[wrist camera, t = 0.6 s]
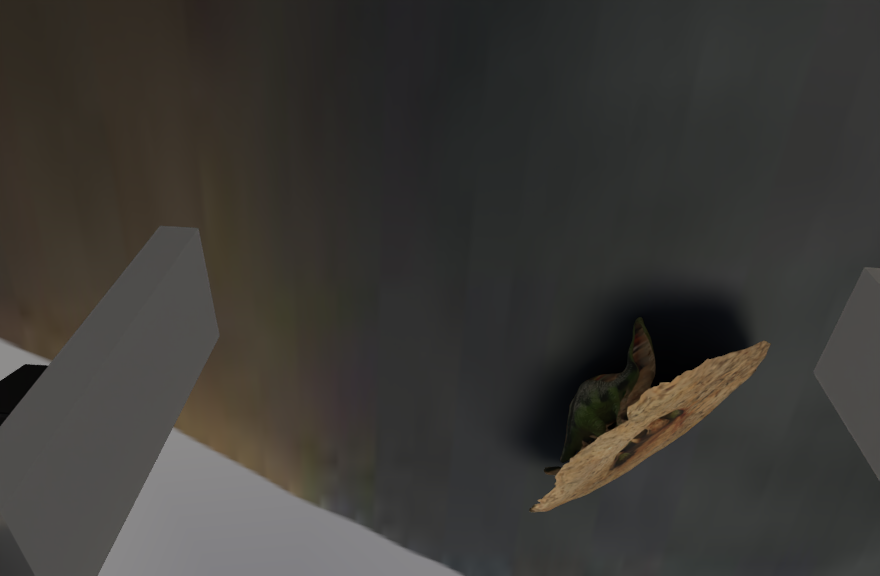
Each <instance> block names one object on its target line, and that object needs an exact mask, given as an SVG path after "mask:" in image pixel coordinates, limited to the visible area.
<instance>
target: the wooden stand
mask: <svg viewBox="0 0 880 576" xmlns="http://www.w3.org/2000/svg"><path fill="white" fill-rule="evenodd" d="M770 344H771V343H770ZM770 344H768V342H766V341H762V342H760V343H758V344H756V345H754V346H751V347H749V348H747V349H744V350H740V351H737V352H731V353H729V354H726V355H724V356H722V357H721V356H719V357H716V358H713V359H707V360H706V361H705V362H703V363H702V364H701V365H700V366H698V367H697V368H695V369H693V370H688V371H685V372H684V373H683V374H682V375H681V376H677V377H676V378H675V379H674V380H673V381H672V382H671V383H670V382H661V383H660V384H659V386H654V387H653V388H651V384H652V382H653V379H654V377H655V369H656V365H655V356H654V350H653V345H652V341H651V338H650V335H649V333H648V331H647V329H646V327H645V325H644V321H643V319H642V318H641V317H639V318H637V319H636V321H635V323H634V326H633V340H632V342H631V345H630V347H629V350H628V355H627V366H626V368H625V370H624V371H623V372H621V373H617V374H603V375H598V376H595V377H593V378H590V379H588V380H586V381H585V382H583V383H582V384H581V385H580V387H579V389H578V391H577V393H576V395H575V397H574V398H573V400H572V402H571V404H570V405H569V415H568V420H567V434H566V440H565V445H564V448H563V452H562V455H561V457H560V461H561V462H562V463H564V462H566V461H568V460H570V463H567V464H565V465H564V466H563V467H562V468H561V467H547V468H545V469H544V472H545V473H546V474H548V475H556V474H557V475H556V476H555V479H556V480H557V481H556V483H555V485H557V486H556V487H555V488H554V489H553V490H552V491H551V492H550V493H548V494H547V495H546V496H544V497H543V499H540V500H537V501H539V502H540V504H536V505H533V507H532V508H530V510H529V512H530V511H531V512H544V511H549V510H551V509H553V508H554V507H556V506H558V505H561V504H564V503H566V502H568V501H570V500H573V499H576V498H579V497H582V496H584V495H587V494H589V493H591V492H592V491H594V490H595V489H597V488H600V487H601V486H603V485H605V484H607V483H609V482H611V481H612V480H614V479H616V478H618V477H620V476H621V475H623V474H624V473H626V472H628V471H629V470H631V469H632V468H633V467H635V466H636V465H638V464H639V463H640V462H642V461H643V460H645V459H646V458H647V457H649V456H651V455H652V454H654V453H656V452H657V451H659V450H661V449H662V448H664V447H665V446H667V445H668V444H670V443H671V442H673V441H674V440H676V439H677V438H678V437H680V436H681V435H683V434H684V433H686V432H687V431H688V430H689V429H690V428H692V427H693V426H694V425H696V424H697V423H698V422H699V421H700V420H702V419H703V418H704V417H706V416H707V415H708V414H709V413H710V412H711V411H712V410H714V409H715V408H716V407H717V406H718V405H719V404H720V403H721V402H722V401H723V400H724V399H725V398H726V397H727V396H729V394H730V393H732V392H733V391H734V390H735V389H736V388H737V387H738V386H740V385H741V384H742V383H743V382H745V381H746V380H747V379H748V378H749V377H750V376H751V375H752V374H753V373H754V372H755V371H756V368H757V367H758V365H759V364H760V362H761V361H762V360H763V359H764V358H765V356H766V354H767V350H768V348H769V347H770ZM596 438H597V439H596ZM595 439H596V440H595ZM592 440H595V441H594V442H592ZM591 442H592V443H591ZM576 451H580V452H579V453H577V454H576V455H575V453H576Z"/></svg>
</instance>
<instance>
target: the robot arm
mask: <svg viewBox="0 0 880 576" xmlns="http://www.w3.org/2000/svg"><path fill="white" fill-rule="evenodd" d="M218 338H219V331H218V326H217V321H216V316H215V311H214V306H213V301H212V295H211V290H210V285H209V280H208V275H207V270H206V265H205V260H204V255H203V249H202V244H201V239H200V234H199V229H198V228H187V227H170V226H160V227H159V228H158V229H157V230H156V232H155V233H154V234H153V236H152V237H151V238H150V239H149V241H148V242H147V243H146V244H145V246H144V247H143V248H142V249H141V251H140V252H139V253H138V254H137V256H136V257H135V258H134V259H133V261H132V262H131V263H130V264H129V266H128V267H127V268H126V269H125V271H124V272H123V273H122V274H121V276H120V277H119V278H118V279H117V281H116V282H115V283H114V284H113V286H112V287H111V288H110V289H109V291H108V292H107V293H106V294H105V296H104V297H103V298H102V299H101V301H100V302H99V303H98V304H97V306H96V307H95V308H94V309H93V311H92V312H91V313H90V314H89V316H88V317H87V318H86V319H85V321H84V322H83V323H82V325H81V326H80V327H79V328H78V330H77V331H76V332H75V333H74V335H73V336H72V337H71V338H70V340H69V341H68V342H67V343H66V345H65V346H64V347H63V348H62V350H61V351H60V352H59V353H58V355H57V356H56V357H55V358H54V360H53V361H52V362H51V363H50V365H49V366H46V365H30V364H28V365H27V364H25V365H23V366H22V367H20V368H19V369H17V370H16V371H14V372H13V373H11V374H10V375H8V376H7V377H6V378H4V379H2V380H1V381H0V576H98V573H99V572H100V570H101V568H102V566H103V564H104V562H105V560H106V558H107V556H108V554H109V552H110V550H111V548H112V546H113V544H114V542H115V540H116V538H117V536H118V534H119V532H120V530H121V528H122V526H123V524H124V522H125V521H126V518H127V517H128V515H129V513H130V511H131V509H132V507H133V505H134V503H135V501H136V499H137V497H138V495H139V493H140V491H141V489H142V487H143V485H144V483H145V481H146V479H147V477H148V475H149V473H150V471H151V469H152V467H153V465H154V464H155V462H156V460H157V458H158V456H159V454H160V452H161V449H162V448H163V446H164V444H165V442H166V440H167V438H168V436H169V434H170V432H171V430H172V428H173V426H174V424H175V422H176V420H177V418H178V416H179V414H180V412H181V410H182V408H183V407H184V405H185V403H186V401H187V399H188V397H189V395H190V393H191V391H192V389H193V387H194V385H195V383H196V381H197V379H198V377H199V375H200V373H201V371H202V369H203V367H204V365H205V363H206V361H207V359H208V357H209V355H210V353H211V351H212V350H213V348H214V346H215V344H216V342H217V340H218ZM813 373H814V375H815V377H816V378H817V380H818V381H819V383H820V385H821V386H822V388H823V390H824V391H825V393H826V394H827V396H828V398H829V399H830V401H831V403H832V404H833V406H834V407H835V409H836V411H837V412H838V414H839V416H840V417H841V419H842V420H843V422H844V424H845V425H846V427H847V429H848V430H849V432H850V434H851V435H852V437H853V438H854V440H855V442H856V443H857V445H858V447H859V448H860V450H861V451H862V453H863V455H864V456H865V458H866V460H867V461H868V463H869V464H870V466H871V468H872V469H873V471H874V473H875V474H876V476H877V477H878V479H879V481H880V268H865V267H864V269H863V271H862V273H861V275H860V277H859V279H858V282H857V284H856V286H855V288H854V290H853V292H852V294H851V296H850V298H849V300H848V302H847V304H846V306H845V308H844V310H843V312H842V314H841V316H840V318H839V320H838V322H837V324H836V326H835V329H834V331H833V333H832V335H831V337H830V339H829V341H828V343H827V345H826V347H825V349H824V351H823V353H822V355H821V357H820V359H819V361H818V363H817V365H816V367H815V369H814V371H813Z"/></svg>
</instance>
